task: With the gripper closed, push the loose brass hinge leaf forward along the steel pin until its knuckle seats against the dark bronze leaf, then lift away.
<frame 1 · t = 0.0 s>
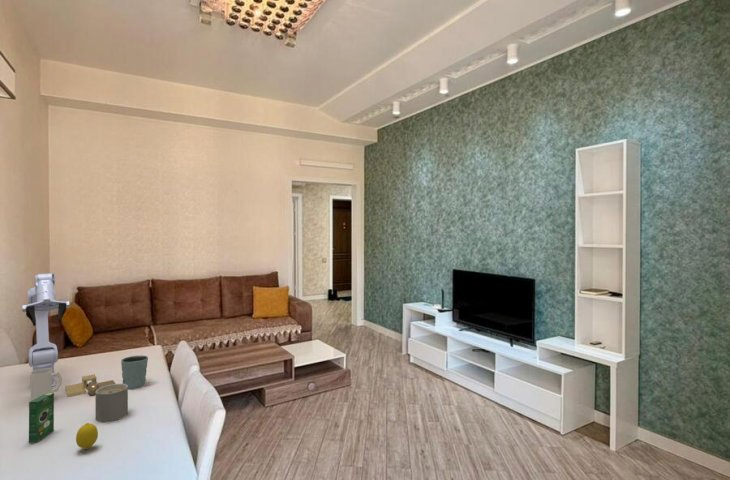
hand: (47, 322, 152), 32 cm above the table, tool tilted 50°, fingers open, 7 cm apart
lemon: (87, 449, 121), on the table
brass leaf: (81, 385, 169), point 2 cm above the table, slide at 5.0 cm
teal cup: (134, 386, 173), on the table
coffee mug: (111, 414, 145), on the table
bronze leaf with pin: (92, 391, 167), on the table
mug: (46, 400, 157), on the table
coffee box: (41, 437, 129), on the table
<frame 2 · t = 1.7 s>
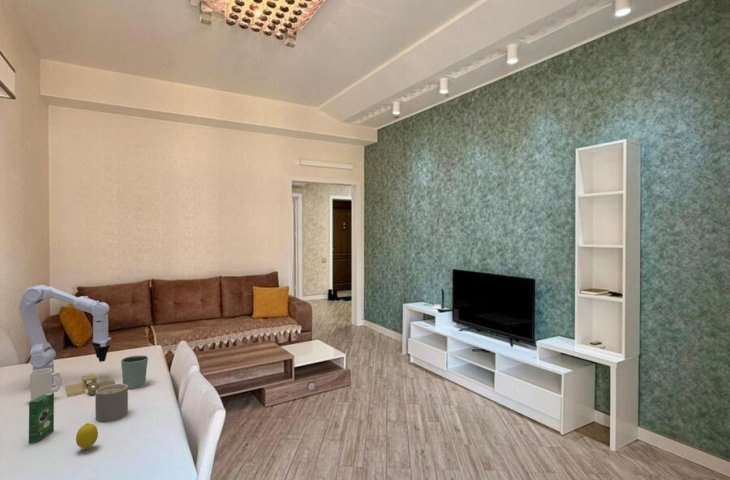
hand: (100, 359, 180), 10 cm above the table, tool pointing down, fingers open, 7 cm apart
nothing on the table moved.
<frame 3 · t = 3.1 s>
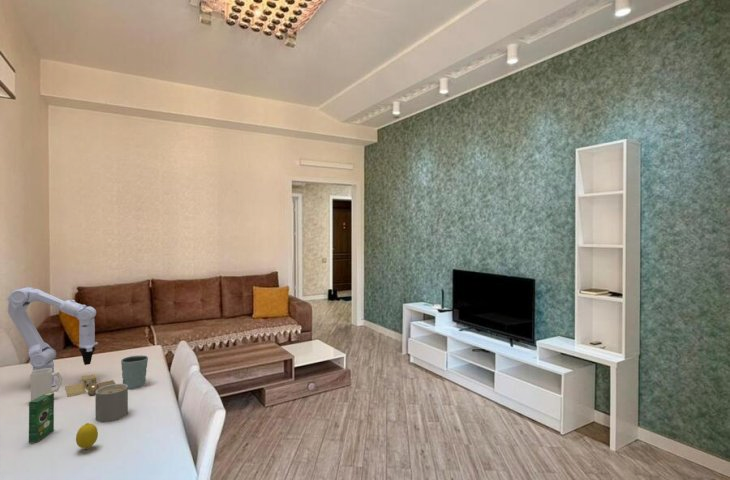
hand: (87, 364, 178), 8 cm above the table, tool pointing down, fingers closed
nothing on the table moved.
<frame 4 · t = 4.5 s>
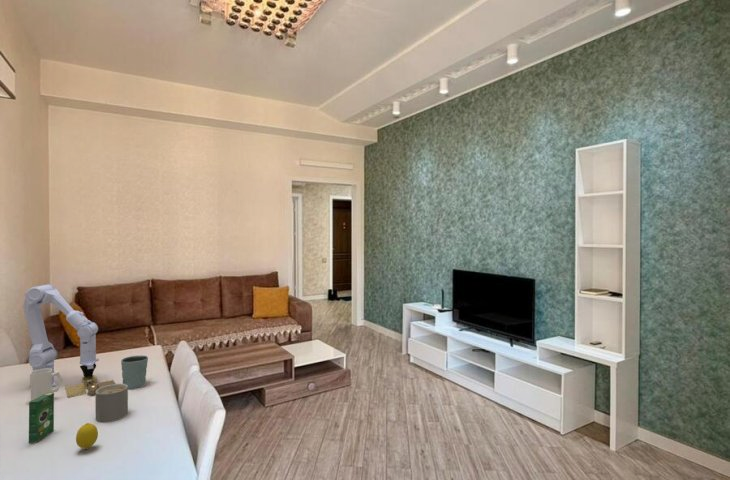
hand: (88, 381, 176), 1 cm above the table, tool pointing down, fingers closed
brass leaf: (82, 385, 168), point 2 cm above the table, slide at 4.2 cm, touching gripper
everything else where it was.
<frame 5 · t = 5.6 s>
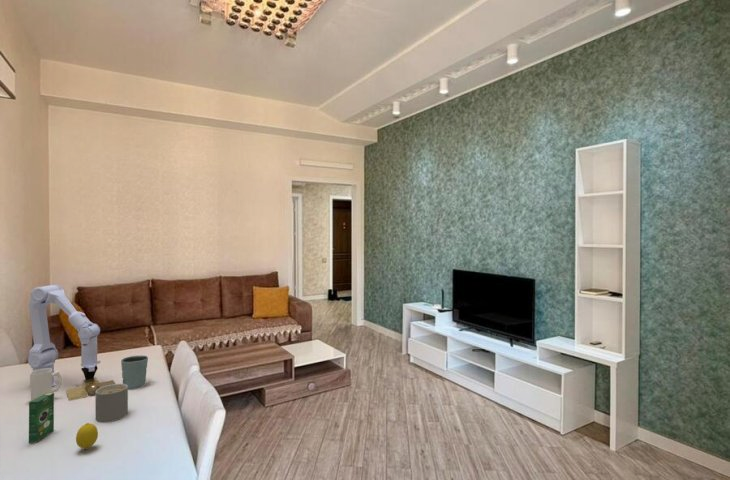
hand: (89, 383, 173), 1 cm above the table, tool pointing down, fingers closed
brass leaf: (83, 388, 165), point 2 cm above the table, slide at 0.1 cm, touching gripper
everything else where it was.
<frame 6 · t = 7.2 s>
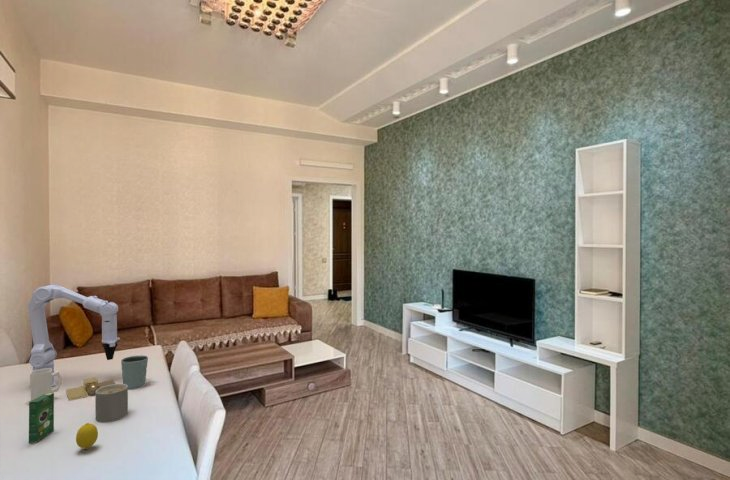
hand: (109, 359, 179), 10 cm above the table, tool pointing down, fingers closed
brass leaf: (83, 388, 165), point 2 cm above the table, slide at 0.1 cm
everything else where it was.
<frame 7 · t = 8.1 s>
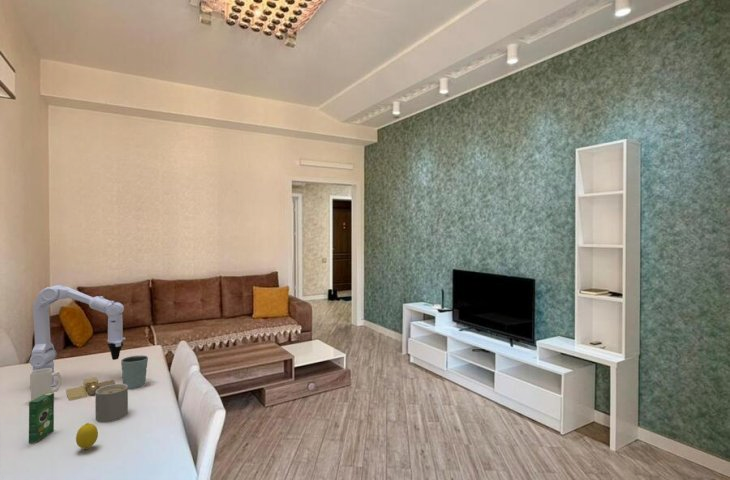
hand: (115, 359, 180), 9 cm above the table, tool pointing down, fingers closed
nothing on the table moved.
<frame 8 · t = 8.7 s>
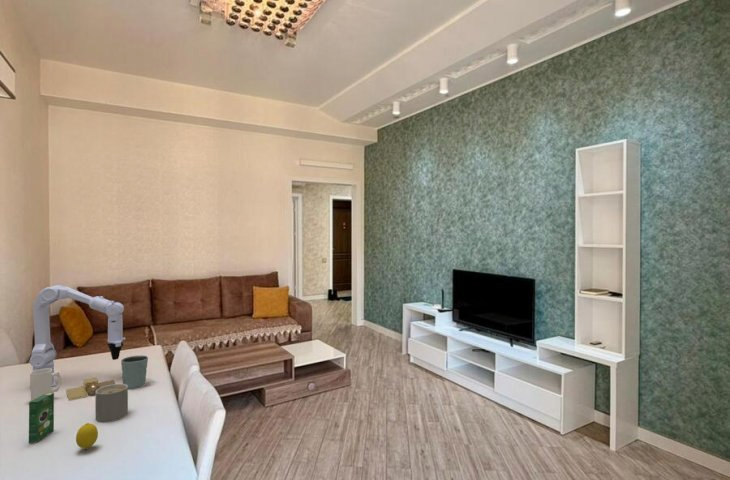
hand: (115, 359, 180), 9 cm above the table, tool pointing down, fingers closed
nothing on the table moved.
at the end: brass leaf slide at 0.1 cm; brass leaf touching nothing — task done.
